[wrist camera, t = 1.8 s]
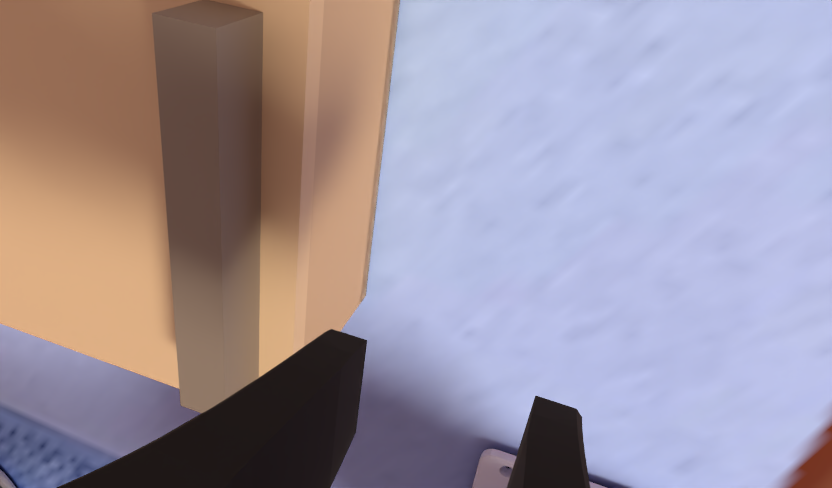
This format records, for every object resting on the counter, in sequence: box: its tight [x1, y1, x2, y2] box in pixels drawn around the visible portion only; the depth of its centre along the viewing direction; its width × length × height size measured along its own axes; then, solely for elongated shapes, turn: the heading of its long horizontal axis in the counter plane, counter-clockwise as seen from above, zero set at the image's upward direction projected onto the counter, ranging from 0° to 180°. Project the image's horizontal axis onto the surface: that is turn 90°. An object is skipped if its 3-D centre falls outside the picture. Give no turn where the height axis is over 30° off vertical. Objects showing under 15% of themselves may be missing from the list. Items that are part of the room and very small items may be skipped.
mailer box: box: [304, 0, 400, 346], centre depth 18 cm, size 12×11×5 cm
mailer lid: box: [0, 0, 324, 413], centre depth 15 cm, size 13×12×2 cm
